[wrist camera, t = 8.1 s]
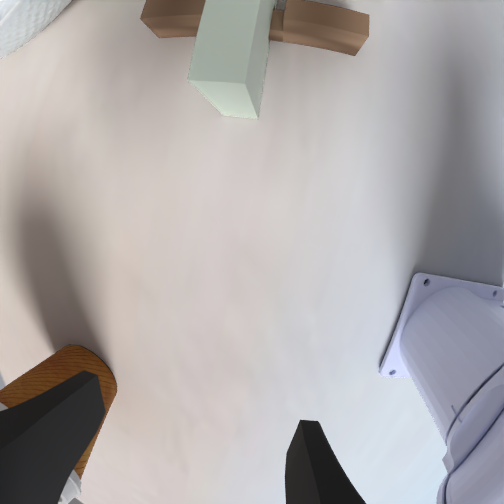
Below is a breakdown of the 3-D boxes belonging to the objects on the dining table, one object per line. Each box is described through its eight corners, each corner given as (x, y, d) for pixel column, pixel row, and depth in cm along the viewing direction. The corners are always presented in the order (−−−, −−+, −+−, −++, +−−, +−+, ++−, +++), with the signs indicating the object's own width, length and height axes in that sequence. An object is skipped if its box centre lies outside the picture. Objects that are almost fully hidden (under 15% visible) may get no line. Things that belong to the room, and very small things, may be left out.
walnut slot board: (356, 36, 13) (369, 14, 10) (354, 55, 14) (368, 36, 11) (164, 19, 14) (146, -2, 11) (159, 37, 14) (140, 19, 11)
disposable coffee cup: (68, 306, 20) (-35, 391, 8) (154, 390, 21) (93, 508, 9) (37, 357, 22) (-35, 427, 10) (105, 423, 23) (54, 509, 12)
